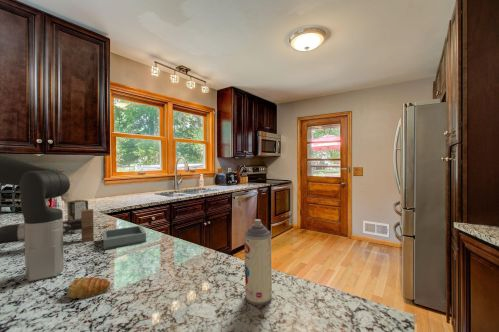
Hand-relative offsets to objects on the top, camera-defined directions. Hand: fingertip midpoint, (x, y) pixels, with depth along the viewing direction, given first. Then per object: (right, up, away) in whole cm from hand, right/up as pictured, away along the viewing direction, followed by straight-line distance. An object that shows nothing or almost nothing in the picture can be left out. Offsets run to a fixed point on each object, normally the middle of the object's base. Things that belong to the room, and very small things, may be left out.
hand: (82, 224), depth 104 cm
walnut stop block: (+2, -8, +1) cm, 8 cm away
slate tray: (+19, -7, 0) cm, 21 cm away
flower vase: (-24, -8, +8) cm, 27 cm away
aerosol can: (+79, -7, -46) cm, 92 cm away
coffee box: (-15, -8, +17) cm, 24 cm away
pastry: (+33, -8, -42) cm, 54 cm away
